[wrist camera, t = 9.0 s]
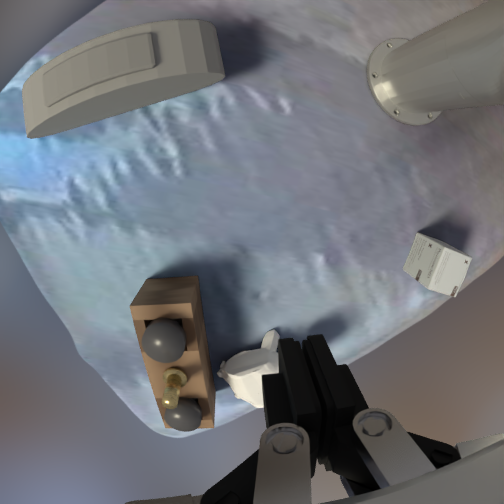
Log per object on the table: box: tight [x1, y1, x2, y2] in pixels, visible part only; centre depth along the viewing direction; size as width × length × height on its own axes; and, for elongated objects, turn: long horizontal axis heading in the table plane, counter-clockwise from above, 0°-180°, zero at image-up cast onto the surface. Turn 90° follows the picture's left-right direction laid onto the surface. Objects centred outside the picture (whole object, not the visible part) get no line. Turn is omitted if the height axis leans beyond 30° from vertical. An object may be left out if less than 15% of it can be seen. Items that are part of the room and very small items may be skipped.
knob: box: [142, 318, 187, 363], centre depth 37 cm, size 5×5×9 cm
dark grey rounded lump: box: [164, 397, 202, 431], centre depth 40 cm, size 5×5×9 cm
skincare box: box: [403, 232, 472, 297], centre depth 39 cm, size 6×6×7 cm
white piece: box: [217, 330, 280, 408], centre depth 42 cm, size 8×8×15 cm
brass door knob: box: [162, 367, 187, 409], centre depth 34 cm, size 3×3×5 cm
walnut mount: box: [130, 276, 216, 428], centre depth 40 cm, size 7×20×8 cm, turn 4°
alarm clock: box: [22, 19, 225, 139], centre depth 27 cm, size 23×6×13 cm, turn 101°
